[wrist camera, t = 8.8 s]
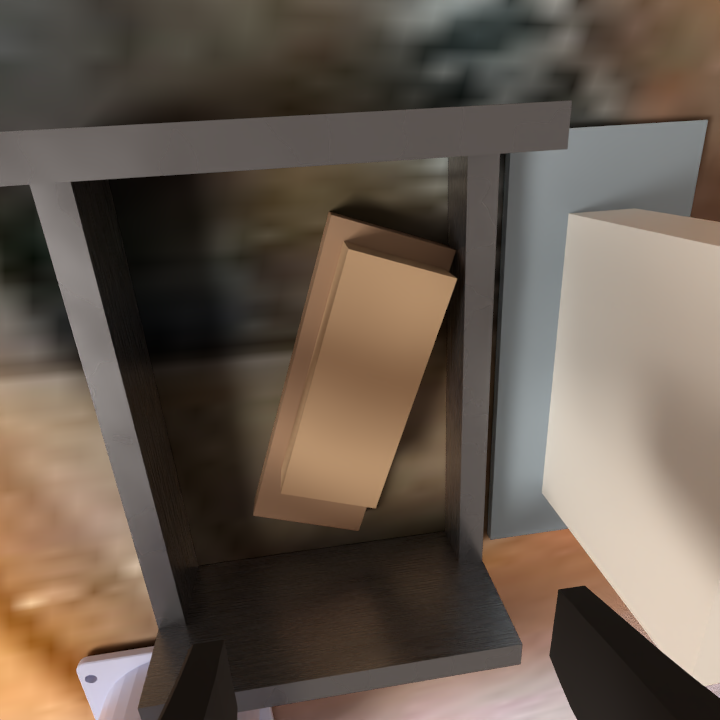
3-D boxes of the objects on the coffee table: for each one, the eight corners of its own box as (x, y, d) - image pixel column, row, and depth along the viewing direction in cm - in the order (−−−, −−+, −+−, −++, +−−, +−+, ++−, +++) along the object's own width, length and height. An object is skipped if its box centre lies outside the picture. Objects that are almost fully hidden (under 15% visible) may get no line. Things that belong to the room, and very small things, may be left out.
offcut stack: (354, 507, 23) (363, 556, 20) (255, 492, 22) (250, 541, 19) (443, 243, 19) (470, 258, 16) (327, 209, 18) (335, 220, 15)
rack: (466, 545, 24) (520, 663, 18) (179, 586, 22) (144, 728, 17) (478, 117, 17) (571, 100, 11) (64, 141, 16) (-59, 135, 10)
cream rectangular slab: (594, 485, 23) (769, 674, 15) (541, 492, 23) (688, 688, 14) (634, 208, 18) (923, 254, 10) (568, 213, 18) (807, 265, 10)
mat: (629, 513, 24) (634, 518, 24) (487, 533, 24) (490, 539, 23) (699, 120, 18) (707, 119, 17) (506, 132, 17) (511, 131, 17)
